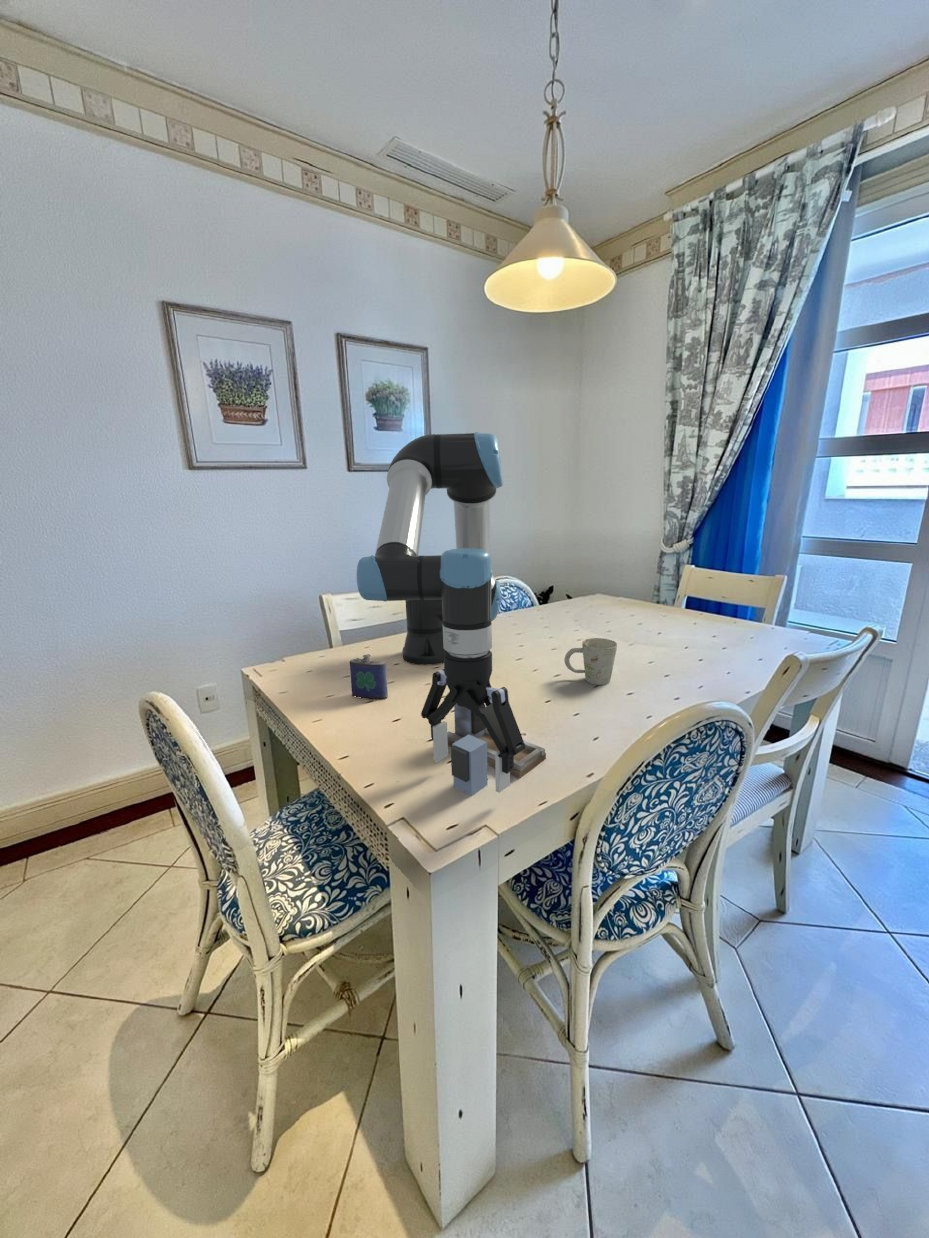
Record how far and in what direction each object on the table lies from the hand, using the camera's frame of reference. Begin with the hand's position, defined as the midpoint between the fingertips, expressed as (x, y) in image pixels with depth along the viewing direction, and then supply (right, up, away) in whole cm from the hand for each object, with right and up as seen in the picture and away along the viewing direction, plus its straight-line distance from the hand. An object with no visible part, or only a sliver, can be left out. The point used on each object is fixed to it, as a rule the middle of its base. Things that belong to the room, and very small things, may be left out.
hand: (470, 772), depth 81 cm
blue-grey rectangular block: (0, -3, +1) cm, 3 cm away
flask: (-24, +7, +37) cm, 44 cm away
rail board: (+5, 0, +11) cm, 12 cm away
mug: (+31, +10, +43) cm, 54 cm away
